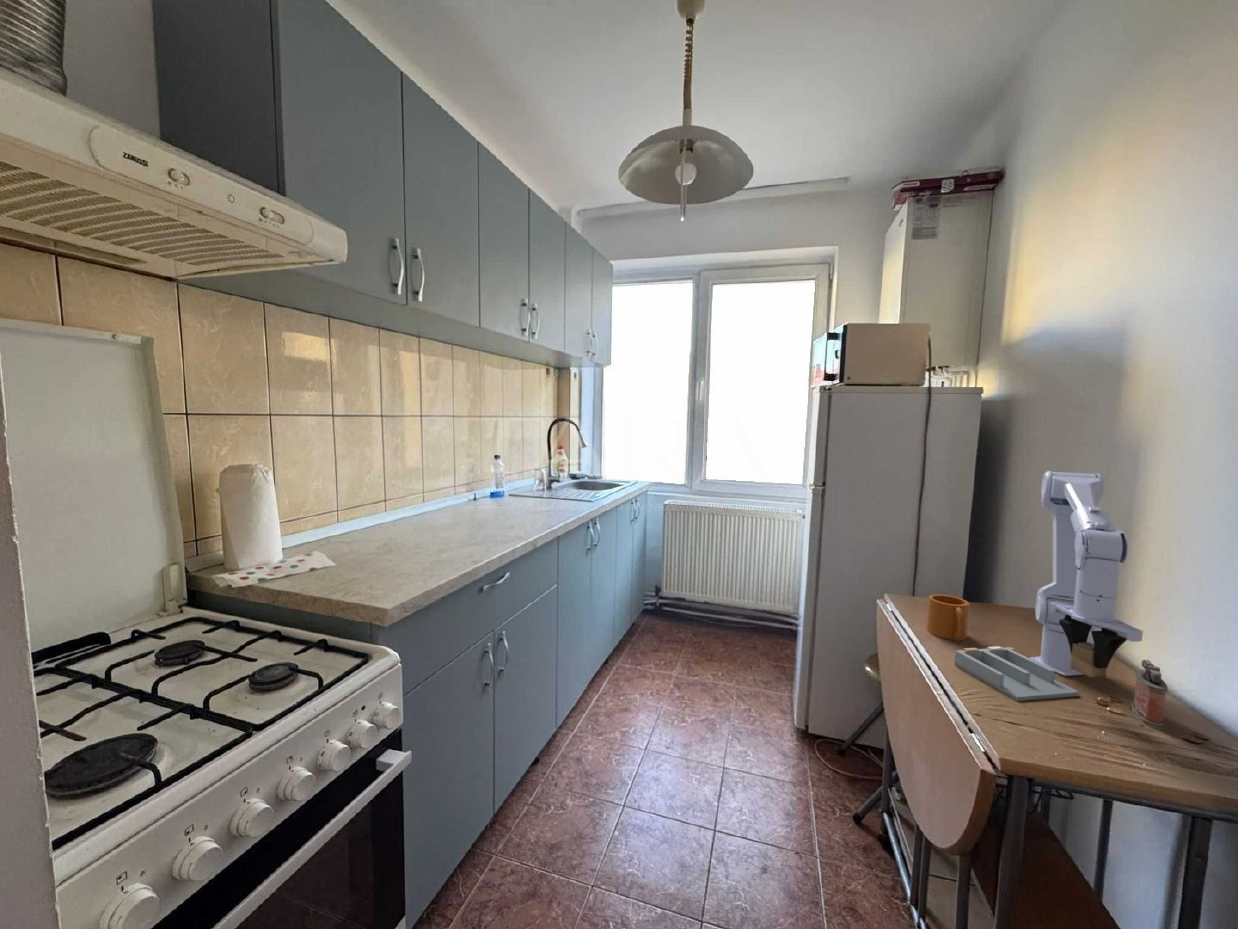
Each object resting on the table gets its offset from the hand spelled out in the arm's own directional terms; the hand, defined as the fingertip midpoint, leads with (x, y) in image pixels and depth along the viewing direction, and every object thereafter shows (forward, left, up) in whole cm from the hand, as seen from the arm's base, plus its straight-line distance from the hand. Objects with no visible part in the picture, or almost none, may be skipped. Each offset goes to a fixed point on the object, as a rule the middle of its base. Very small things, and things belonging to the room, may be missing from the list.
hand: (1089, 662), depth 96 cm
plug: (0, 0, -2) cm, 2 cm away
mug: (0, -33, -9) cm, 34 cm away
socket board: (+4, -11, -9) cm, 15 cm away
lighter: (-8, +5, -9) cm, 13 cm away
